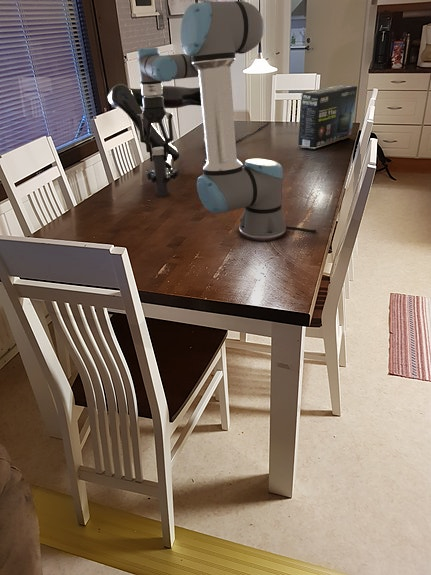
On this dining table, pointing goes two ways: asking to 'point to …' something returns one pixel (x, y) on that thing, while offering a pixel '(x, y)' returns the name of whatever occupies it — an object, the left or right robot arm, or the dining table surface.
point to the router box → (326, 115)
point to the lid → (157, 151)
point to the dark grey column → (160, 175)
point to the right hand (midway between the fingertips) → (159, 160)
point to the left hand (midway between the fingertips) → (160, 180)
